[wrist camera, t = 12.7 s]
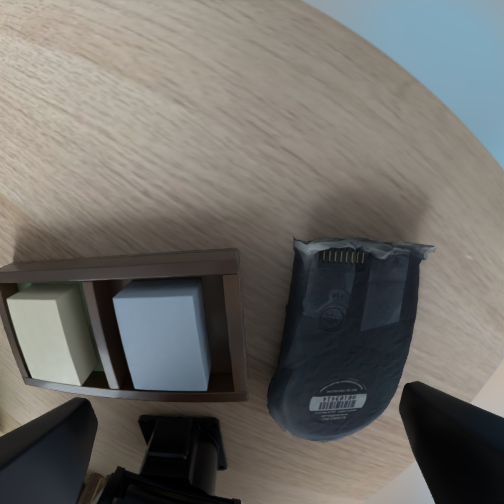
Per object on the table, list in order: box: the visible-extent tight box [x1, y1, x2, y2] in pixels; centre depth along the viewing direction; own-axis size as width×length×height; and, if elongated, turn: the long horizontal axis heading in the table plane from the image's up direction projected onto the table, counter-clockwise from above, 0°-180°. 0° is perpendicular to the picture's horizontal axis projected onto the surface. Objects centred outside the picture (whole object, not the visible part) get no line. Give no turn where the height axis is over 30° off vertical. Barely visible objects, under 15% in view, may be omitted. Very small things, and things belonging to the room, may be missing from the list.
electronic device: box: [267, 236, 436, 442], centre depth 19 cm, size 9×6×15 cm
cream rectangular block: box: [7, 284, 98, 386], centre depth 17 cm, size 6×4×3 cm
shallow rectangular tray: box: [0, 248, 248, 402], centre depth 18 cm, size 9×17×3 cm, turn 93°
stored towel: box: [113, 278, 211, 391], centre depth 18 cm, size 6×4×3 cm
